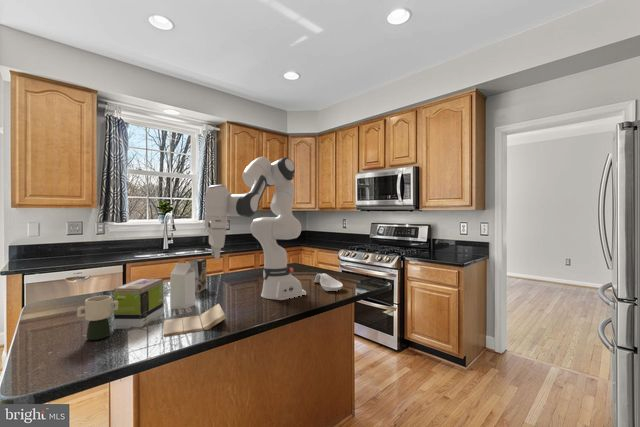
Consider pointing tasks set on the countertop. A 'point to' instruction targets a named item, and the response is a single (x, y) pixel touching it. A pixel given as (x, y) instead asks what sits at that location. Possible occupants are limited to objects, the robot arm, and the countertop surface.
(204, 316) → the board
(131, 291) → the tea box
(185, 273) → the milk carton
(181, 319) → the laid floor
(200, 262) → the coffee box
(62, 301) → the countertop surface
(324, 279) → the spoon rest
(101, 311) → the character mug
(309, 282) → the countertop surface
